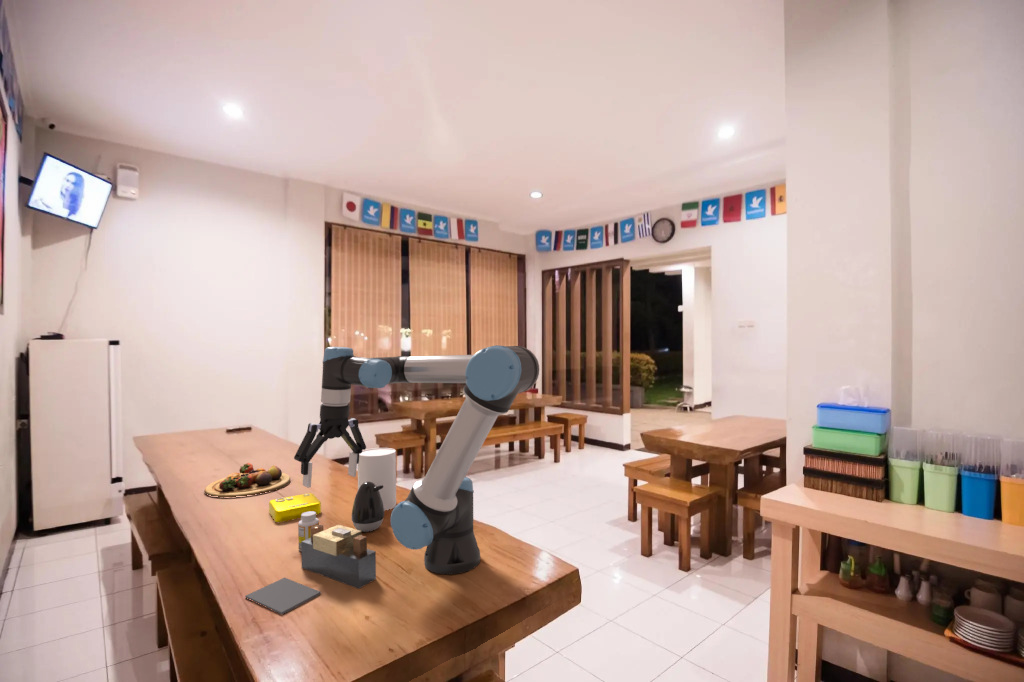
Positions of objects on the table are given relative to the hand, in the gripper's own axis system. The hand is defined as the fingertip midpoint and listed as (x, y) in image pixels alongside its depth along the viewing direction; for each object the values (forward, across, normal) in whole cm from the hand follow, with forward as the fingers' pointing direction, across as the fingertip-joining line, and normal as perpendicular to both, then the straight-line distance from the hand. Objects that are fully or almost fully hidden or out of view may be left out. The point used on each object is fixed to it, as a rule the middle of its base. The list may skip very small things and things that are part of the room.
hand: (330, 480), depth 129 cm
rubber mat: (+22, +16, +8) cm, 28 cm away
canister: (+24, -37, -25) cm, 51 cm away
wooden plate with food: (+31, -21, -91) cm, 98 cm away
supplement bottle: (+24, -2, -12) cm, 26 cm away
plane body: (+22, +2, +9) cm, 24 cm away
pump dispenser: (+23, -21, -10) cm, 33 cm away
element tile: (+27, -15, -44) cm, 54 cm away
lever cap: (+15, +2, +8) cm, 17 cm away
